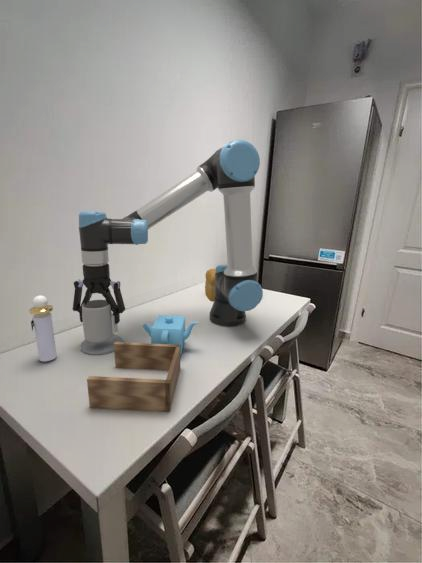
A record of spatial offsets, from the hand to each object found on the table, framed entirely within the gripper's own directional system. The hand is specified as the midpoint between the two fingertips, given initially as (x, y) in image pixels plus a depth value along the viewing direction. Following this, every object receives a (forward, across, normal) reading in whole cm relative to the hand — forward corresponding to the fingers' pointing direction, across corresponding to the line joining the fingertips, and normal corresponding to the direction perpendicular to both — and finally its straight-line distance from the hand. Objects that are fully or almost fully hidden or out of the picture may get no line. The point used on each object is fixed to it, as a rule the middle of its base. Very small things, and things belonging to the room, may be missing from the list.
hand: (100, 331), depth 90 cm
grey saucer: (+5, 0, 0) cm, 5 cm away
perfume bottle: (+5, +12, +10) cm, 16 cm away
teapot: (+5, -23, +1) cm, 24 cm away
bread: (+5, -44, -56) cm, 72 cm away
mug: (+1, -1, 0) cm, 1 cm away
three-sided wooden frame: (+5, -18, +20) cm, 27 cm away
